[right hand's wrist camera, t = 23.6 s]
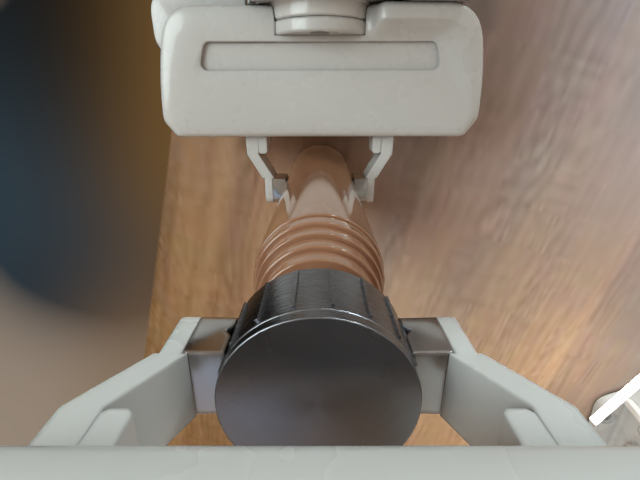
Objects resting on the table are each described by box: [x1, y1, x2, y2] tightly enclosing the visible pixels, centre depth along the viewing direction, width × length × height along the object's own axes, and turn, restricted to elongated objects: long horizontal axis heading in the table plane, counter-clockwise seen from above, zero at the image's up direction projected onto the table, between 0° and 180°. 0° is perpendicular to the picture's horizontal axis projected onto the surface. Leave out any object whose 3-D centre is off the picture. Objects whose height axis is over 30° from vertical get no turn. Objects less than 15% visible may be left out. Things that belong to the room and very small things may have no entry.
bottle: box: [254, 145, 385, 294], centre depth 20 cm, size 5×5×26 cm
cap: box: [214, 268, 422, 446], centre depth 9 cm, size 4×5×2 cm
